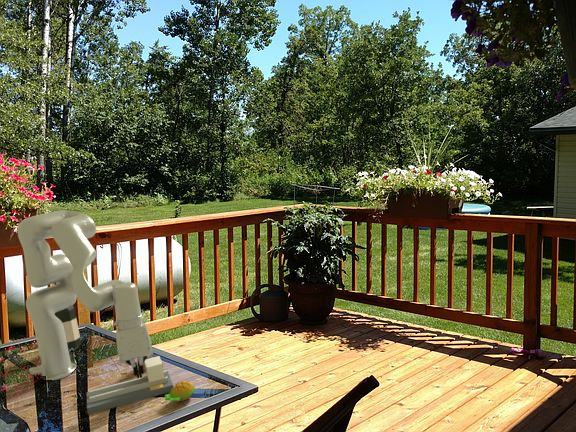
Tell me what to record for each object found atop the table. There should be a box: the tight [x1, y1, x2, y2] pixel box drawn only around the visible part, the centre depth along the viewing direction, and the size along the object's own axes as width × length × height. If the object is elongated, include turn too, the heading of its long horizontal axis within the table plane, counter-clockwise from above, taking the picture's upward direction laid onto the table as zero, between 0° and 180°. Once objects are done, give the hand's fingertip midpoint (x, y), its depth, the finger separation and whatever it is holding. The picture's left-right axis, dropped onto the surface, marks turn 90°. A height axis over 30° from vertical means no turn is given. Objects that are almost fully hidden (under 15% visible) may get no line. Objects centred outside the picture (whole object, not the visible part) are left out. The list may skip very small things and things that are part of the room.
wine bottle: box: [53, 283, 82, 349], centre depth 221 cm, size 8×8×30 cm
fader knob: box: [144, 355, 165, 382], centre depth 177 cm, size 5×7×6 cm
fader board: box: [86, 370, 174, 415], centre depth 175 cm, size 26×12×4 cm, turn 110°
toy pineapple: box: [164, 380, 196, 403], centre depth 166 cm, size 7×10×5 cm
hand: (139, 376), depth 176 cm, fingers closed
